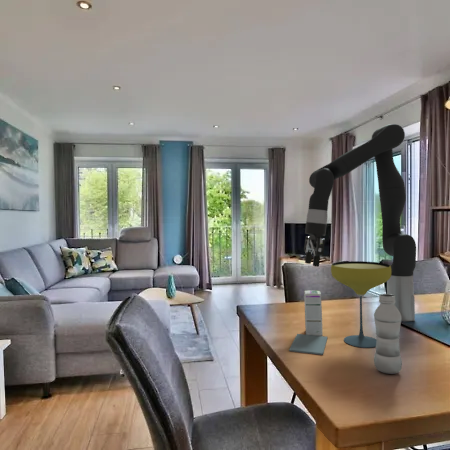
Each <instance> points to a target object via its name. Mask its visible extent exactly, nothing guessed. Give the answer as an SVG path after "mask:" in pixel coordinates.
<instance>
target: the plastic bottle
mask: <svg viewBox="0 0 450 450" xmlns="http://www.w3.org/2000/svg"><path fill="white" fill-rule="evenodd" d="M378 296H379V298H378V302H379V304H378V306H377V308H376V309H375V311H374V312H373V313H374V314H373V319H374V324H375V325H374V326H375V334H376V338H375V339H377V340H376V347H375V352H374V357H373V362H374V367H375V368H376V370H377V371H379V372H381V373H383V374H387V375H388V374H390V375H394V374H398V373H400V371H401V370H402V366H403V362H402V356H401V351H400V330H401V323H402V321H401V314H400V312H399V310H398V309H397V308H396V306H395V305H394V304H395V296H394V295H391V294H387V293H381V294H379V295H378Z"/></svg>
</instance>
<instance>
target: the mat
mask: <svg viewBox="0 0 450 450" xmlns="http://www.w3.org/2000/svg"><path fill="white" fill-rule="evenodd" d="M327 341H328V336H324V335H322V336H315V335H306V333H305V334H302V333H297V334H296V335H295V338H293V341H292V343H291V345H290V347H289V349H288V351H289V352H295V353H300V354H301V353H303V354H309V355H310V354H312V355H318V356H319V355H320V356H324V353H325V348H326V345H327Z"/></svg>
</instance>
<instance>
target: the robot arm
mask: <svg viewBox="0 0 450 450" xmlns="http://www.w3.org/2000/svg"><path fill="white" fill-rule="evenodd" d="M405 134H406V133H405V130H404V128H403V127H402V126H401V125H399V124H398V123H390V124H387V125H384V126H381V127H380V128H377V129H376V130H375V131H374V132H373V133H372V135H371V138H370V140H367V141H366V142H364V143H363V144H361V145H358V146H357V147H355V148H352V149H351V150H349V151H347V152H345V153H343V154H342V155H340V156H338V157H337V158H335V159H334V160H333V161H331V162H330V163H328V164H326V165H323V166H322V167H320V168H318V169H317V170H314V171H313V172H312V173H311V174H310V175H309V179H308V180H309V181H308V182H309V184H310V186H311V187H312V189H313V193H312V194H311V195H310V197H309V200H308V201H309V202H308V209H307V215H306V221H305V231H304V234H306V235H308V236H305V239H304V245H303V246H304V247H303V252H305V260H304V263H305V264H307V265H310V264H312V267H320V261H321V257H322V256H324V252H325V238H323V236H324V237H325V236H326V235H327V233H326V232H327V225H328V224H327V223H328V209H329V199H330V197H331V193H332V191H333V187H334V182H335V180H337V179H338V178H342V177H344V176H346V175H347V174H349V173H351V172H352V171H354V170H355V169H357V168H358V167H360V166H361V165H363V164H364V163H365V164H366V162H368V161H369V160H371V159H373V158H374V160H375V161H374V162H375V167H376V174H377V183H378V195H379V201H380V202H379V203H380V211H381V220H382V221H381V222H382V223H381V225H382V227H381V228H382V231H381V233H382V235H381V238H382V247H383V248H382V249H383V250H384V252H385V253H386V255H388V256H391V257H392V263H391V264H390V266H391V277H390V279H389V280H388V281H386V294H391V295H394V296H395V304H394V305H395V306H396V308H397V309H398V310H399V312H400V314H401V322H415V321H416V316H415V313H416V311H415V310H416V309H415V305H416V304H415V303H416V302H415V295H414V270H415V268H416V263H417V262H416V261H417V260H416V259H417V243H416V241H415V239H414V237H413V236H411V235H410V234H407V233H402V229H401V217H402V214H403V210H404V208H405V204H406V200H407V197H406V195H407V194H406V187H405V181H404V178H403V177H402V175H401V173H400V171H399V170H398V168H397V167H396V165H395V162H394V155H393V154H394V153H393V149H396V148H397V147H399V146H401V144H402V143H403V142H404V140H405V136H406V135H405ZM312 256H313V258H312ZM312 259H313V260H312Z"/></svg>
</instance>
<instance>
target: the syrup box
mask: <svg viewBox="0 0 450 450" xmlns="http://www.w3.org/2000/svg"><path fill="white" fill-rule="evenodd" d="M303 297H304V321H305V324H304V325H305V326H304V327H305V328H304V329H305V335H315V336H324V335H323V333H324V332H323V310H322V309H323V307H322V306H323V305H322V293H321V290H314V289H312V290H304V294H303Z"/></svg>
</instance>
